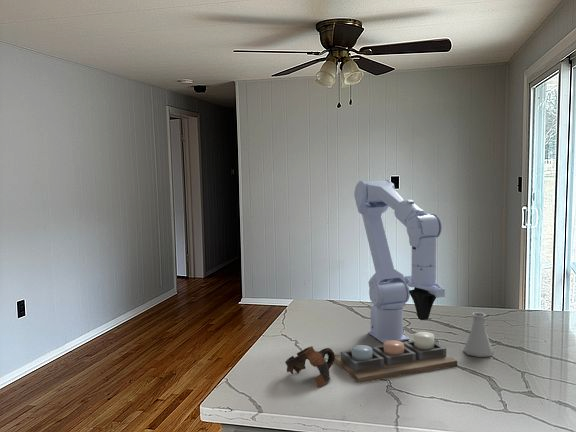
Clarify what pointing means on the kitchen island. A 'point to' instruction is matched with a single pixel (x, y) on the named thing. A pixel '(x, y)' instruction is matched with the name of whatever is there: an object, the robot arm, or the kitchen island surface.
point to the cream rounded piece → (424, 341)
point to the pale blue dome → (361, 352)
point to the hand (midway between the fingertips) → (423, 319)
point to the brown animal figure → (313, 363)
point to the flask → (478, 338)
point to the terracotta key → (393, 347)
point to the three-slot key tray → (394, 362)
